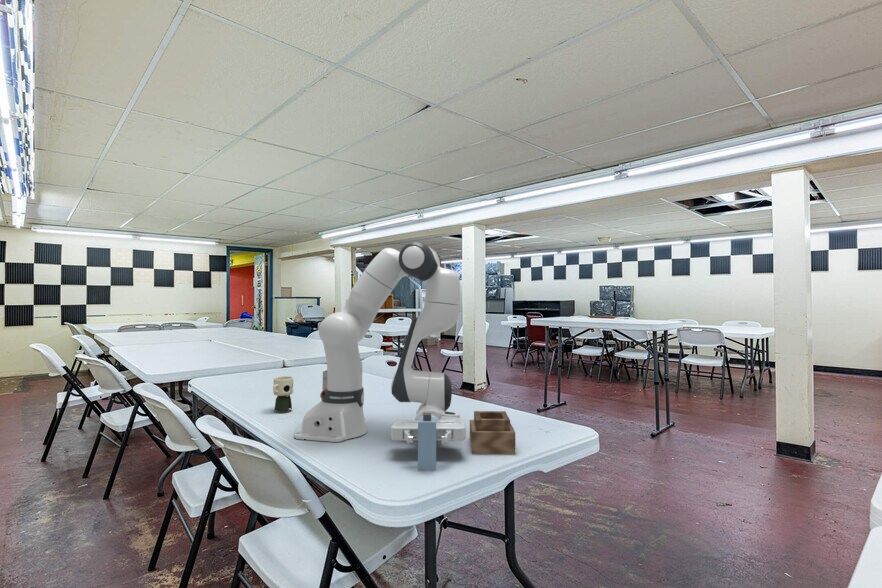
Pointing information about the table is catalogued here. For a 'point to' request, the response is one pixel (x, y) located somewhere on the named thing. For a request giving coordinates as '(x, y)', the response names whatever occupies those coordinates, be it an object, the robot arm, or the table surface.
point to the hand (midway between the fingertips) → (427, 440)
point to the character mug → (283, 393)
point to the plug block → (427, 443)
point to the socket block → (491, 433)
